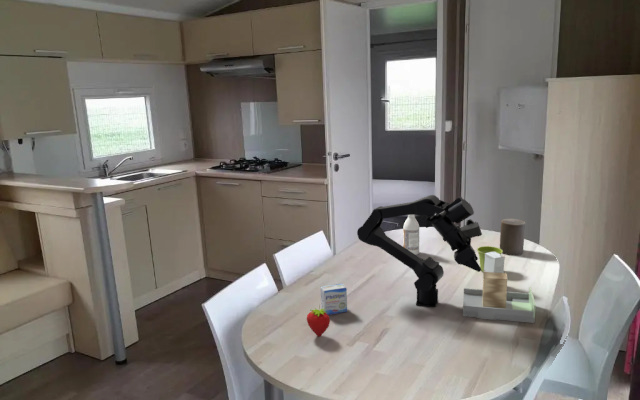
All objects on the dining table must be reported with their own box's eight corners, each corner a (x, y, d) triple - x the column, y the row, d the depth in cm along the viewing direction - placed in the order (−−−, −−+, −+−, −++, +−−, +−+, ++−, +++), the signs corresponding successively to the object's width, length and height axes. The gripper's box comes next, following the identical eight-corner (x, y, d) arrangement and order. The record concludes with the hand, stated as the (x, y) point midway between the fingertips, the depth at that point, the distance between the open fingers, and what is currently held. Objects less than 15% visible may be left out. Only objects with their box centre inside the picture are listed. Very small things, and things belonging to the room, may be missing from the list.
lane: (462, 316, 152) (463, 299, 151) (463, 298, 165) (464, 282, 164) (534, 323, 146) (535, 305, 145) (529, 304, 159) (530, 287, 158)
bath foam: (404, 250, 216) (404, 207, 212) (420, 251, 214) (420, 207, 210) (401, 255, 210) (401, 211, 206) (417, 256, 208) (418, 211, 203)
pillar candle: (500, 254, 206) (502, 221, 202) (498, 247, 215) (500, 215, 211) (524, 256, 203) (527, 222, 199) (522, 248, 212) (524, 216, 208)
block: (482, 306, 154) (483, 277, 152) (482, 300, 159) (483, 271, 157) (505, 308, 152) (507, 279, 150) (504, 302, 157) (506, 273, 155)
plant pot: (497, 266, 193) (498, 245, 191) (504, 275, 184) (505, 253, 182) (474, 266, 194) (474, 246, 192) (479, 275, 184) (480, 254, 183)
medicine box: (324, 315, 157) (323, 291, 155) (321, 310, 161) (320, 286, 159) (347, 312, 159) (346, 287, 157) (343, 306, 163) (342, 282, 161)
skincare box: (482, 283, 177) (483, 252, 174) (492, 282, 178) (494, 251, 175) (492, 290, 171) (494, 258, 168) (503, 288, 172) (505, 256, 169)
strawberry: (314, 328, 149) (313, 298, 146) (334, 335, 144) (333, 304, 142) (303, 336, 144) (301, 306, 142) (323, 343, 140) (321, 312, 137)
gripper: (471, 223, 143) (504, 262, 144) (465, 206, 161) (495, 241, 162) (441, 245, 147) (473, 282, 148) (438, 226, 164) (467, 259, 165)
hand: (478, 265), depth 156 cm, fingers open, 9 cm apart
